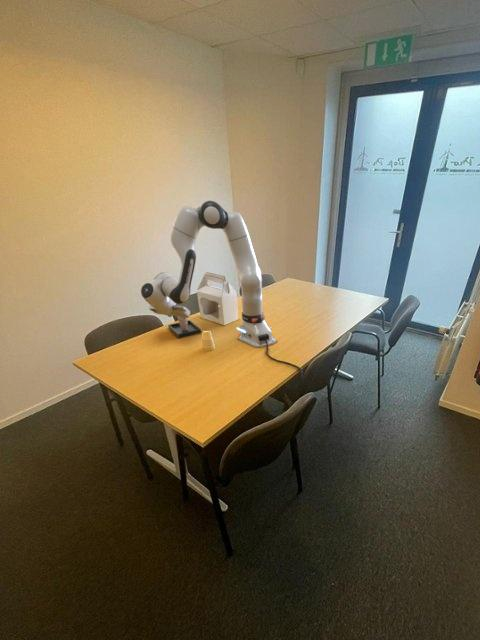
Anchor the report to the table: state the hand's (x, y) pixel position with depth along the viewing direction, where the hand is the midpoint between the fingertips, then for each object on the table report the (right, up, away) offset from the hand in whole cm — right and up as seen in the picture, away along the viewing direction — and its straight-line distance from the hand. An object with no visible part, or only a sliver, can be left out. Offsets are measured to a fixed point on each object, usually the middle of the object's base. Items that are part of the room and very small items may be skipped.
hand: (178, 316), depth 168 cm
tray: (+1, -6, +9) cm, 11 cm away
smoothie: (+1, -6, +9) cm, 10 cm away
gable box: (+17, +5, +26) cm, 32 cm away
